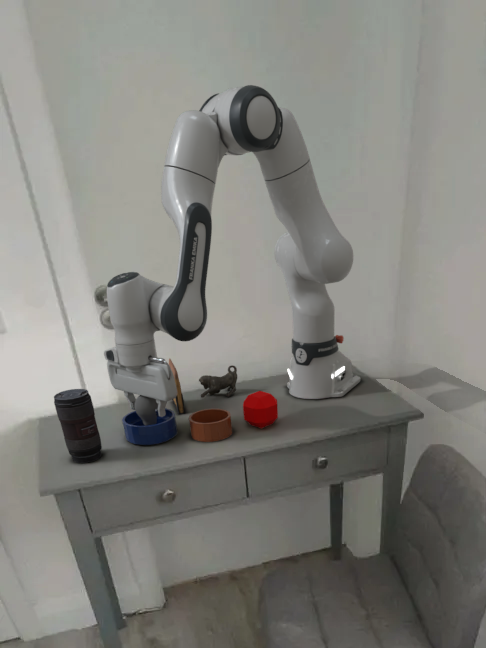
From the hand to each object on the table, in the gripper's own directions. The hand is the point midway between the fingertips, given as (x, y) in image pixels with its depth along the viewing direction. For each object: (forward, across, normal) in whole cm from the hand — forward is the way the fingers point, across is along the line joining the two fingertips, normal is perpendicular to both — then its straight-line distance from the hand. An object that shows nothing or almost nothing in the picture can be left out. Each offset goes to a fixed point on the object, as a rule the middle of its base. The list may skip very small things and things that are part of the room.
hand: (148, 412), depth 148 cm
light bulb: (+6, 0, 0) cm, 6 cm away
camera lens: (+6, +4, +17) cm, 19 cm away
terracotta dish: (+6, -12, -9) cm, 16 cm away
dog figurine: (+6, +6, -31) cm, 32 cm away
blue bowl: (+6, 0, 0) cm, 6 cm away
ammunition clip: (+6, +9, -18) cm, 21 cm away
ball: (+6, -19, -20) cm, 28 cm away
